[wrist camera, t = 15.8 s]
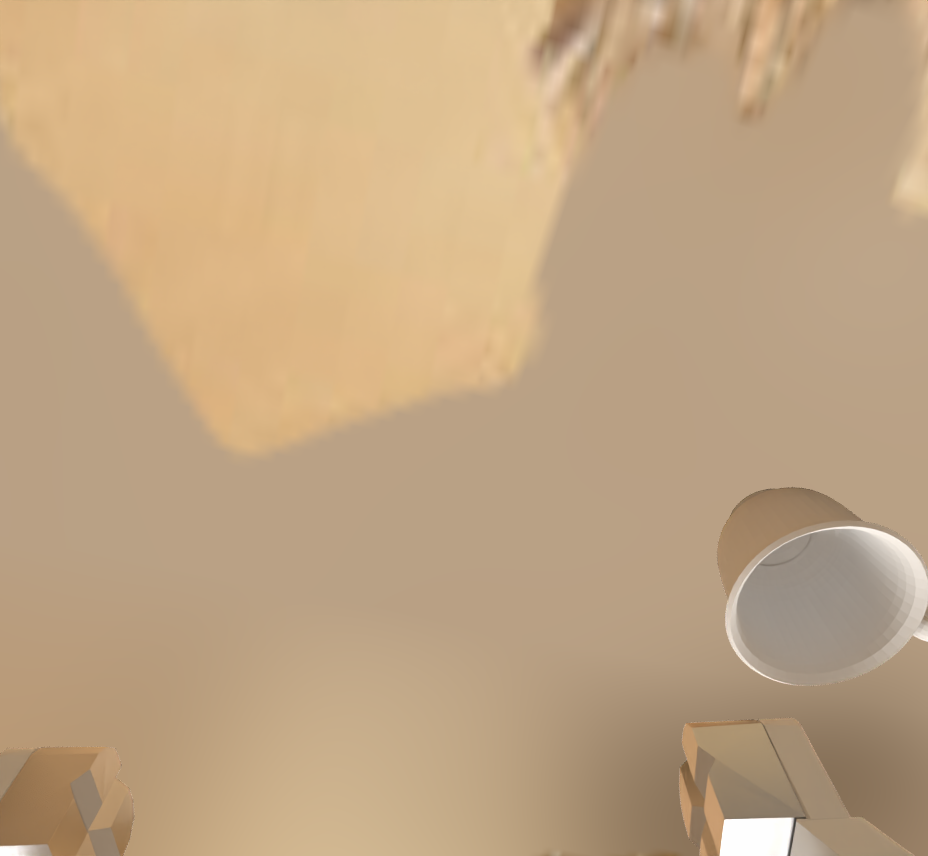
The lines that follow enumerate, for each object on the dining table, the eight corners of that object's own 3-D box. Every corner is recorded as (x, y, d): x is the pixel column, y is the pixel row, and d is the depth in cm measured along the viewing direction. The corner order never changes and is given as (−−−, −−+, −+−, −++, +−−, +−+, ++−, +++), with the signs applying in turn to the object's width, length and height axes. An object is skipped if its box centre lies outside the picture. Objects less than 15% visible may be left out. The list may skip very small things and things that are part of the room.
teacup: (839, 617, 58) (910, 715, 48) (657, 571, 56) (695, 664, 47) (920, 482, 53) (1016, 562, 44) (724, 427, 51) (781, 500, 42)
